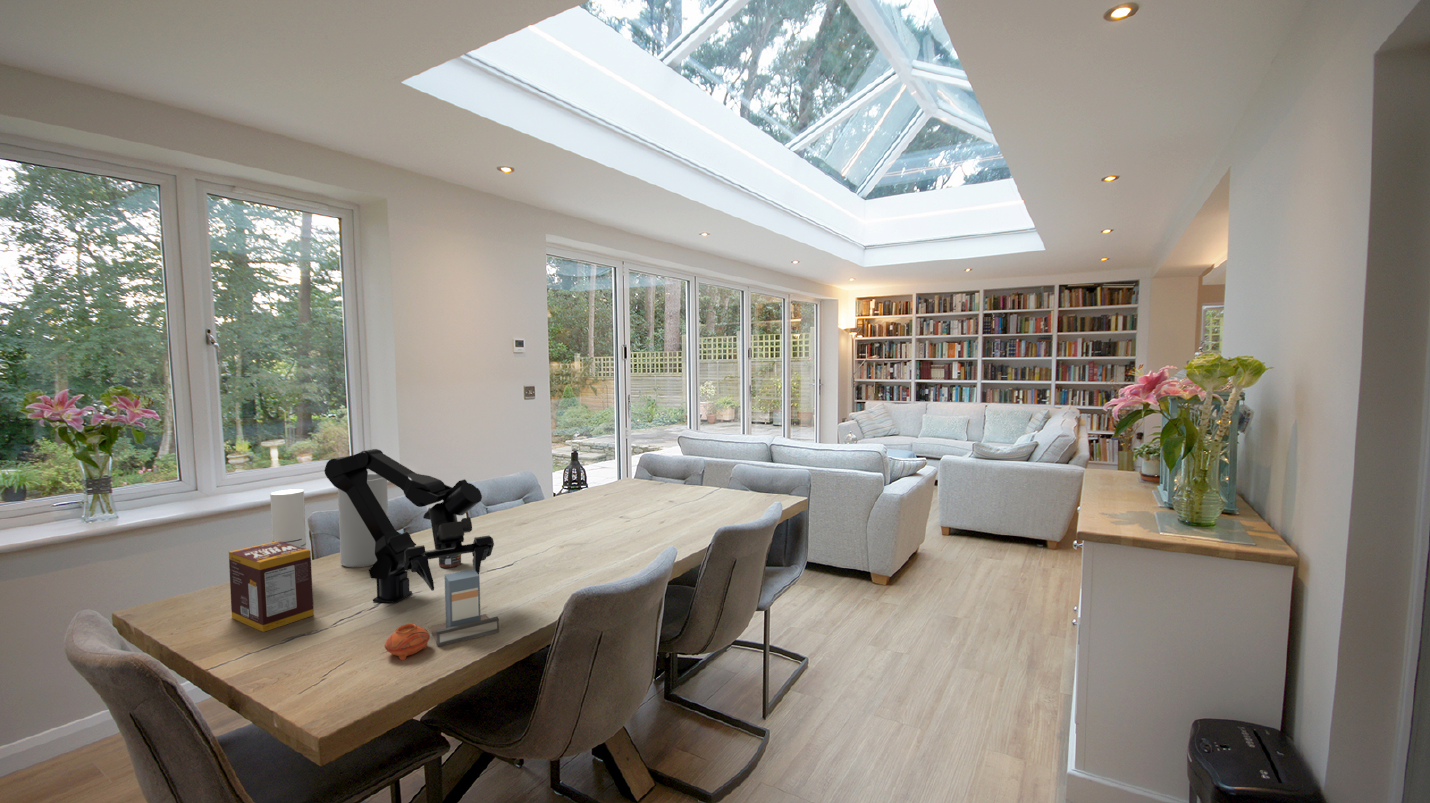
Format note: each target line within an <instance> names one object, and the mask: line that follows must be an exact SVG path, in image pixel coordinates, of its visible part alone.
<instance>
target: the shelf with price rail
mask: <svg viewBox="0 0 1430 803" xmlns="http://www.w3.org/2000/svg"><path fill="white" fill-rule="evenodd" d="M480 617H481V620H479V621H475V622H471V623H466V624H462V625H458V626H453V627H449V628H446V622H444V623H440V624H435V625H431V626H428V629H429V632H430V633H431V635H432V638H433V640H434V643H435V644H436V646H437V648H439V647H443V646H446V645H450V644H456V643H459V642H463V641H467V640H472V639H476V638H481V637H484V636H488V635H492V634H496V633H499V632H500V623H499V620H500V619H499V616H494V617H493V616H492V617H489V616H488V615H487V614H486V613H483V614H480Z"/></svg>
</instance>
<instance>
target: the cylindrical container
mask: <svg viewBox="0 0 1430 803" xmlns="http://www.w3.org/2000/svg"><path fill="white" fill-rule="evenodd" d="M269 499H270V518H271V536H272V537H271V538H272V539H271V540H272V541H271V542H275V541H281V542H284V543H287V544H291V545H294V546H298V547H301V548H305V549H307V534H306V531H307V530H306V508H305V505H306V504H305V490H304V489H303V488H302V489H301V488H300V489H299V488H297V489H296V488H295V489H293V488H291V489H283V490H276V491H272V492H270V498H269Z"/></svg>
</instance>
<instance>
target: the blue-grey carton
mask: <svg viewBox="0 0 1430 803" xmlns="http://www.w3.org/2000/svg"><path fill="white" fill-rule="evenodd" d="M480 581H481V580H480V574H479V575H478V573H477V572H476V571H475V570H474V569H466V570H462V571H457V572H451V573H445V574H444V601H445V602H444V603H445V623H446V628H449V627H453V626H458V625H462V624H466V623H471V622H475V621H479V620H481V617H480V615H481V585H480V583H481V582H480Z"/></svg>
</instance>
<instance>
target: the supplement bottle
mask: <svg viewBox="0 0 1430 803" xmlns="http://www.w3.org/2000/svg"><path fill="white" fill-rule="evenodd" d="M461 563H462V554H459V555H452V556H446V557H440V558H438V565H439V567H440V568H443V569H444V568H446V569H447V568H448V569H449V568H455V567H458V566H460V565H461Z"/></svg>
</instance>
